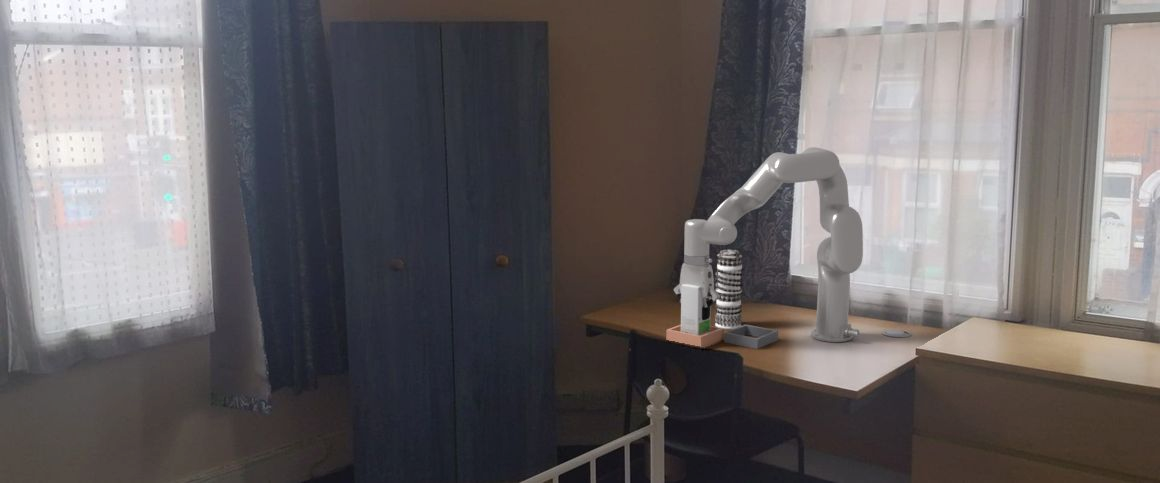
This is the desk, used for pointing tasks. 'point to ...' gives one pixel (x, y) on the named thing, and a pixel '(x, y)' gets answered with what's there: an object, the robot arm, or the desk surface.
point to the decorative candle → (728, 289)
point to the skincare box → (693, 311)
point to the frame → (738, 337)
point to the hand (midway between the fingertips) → (695, 316)
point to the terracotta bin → (696, 336)
